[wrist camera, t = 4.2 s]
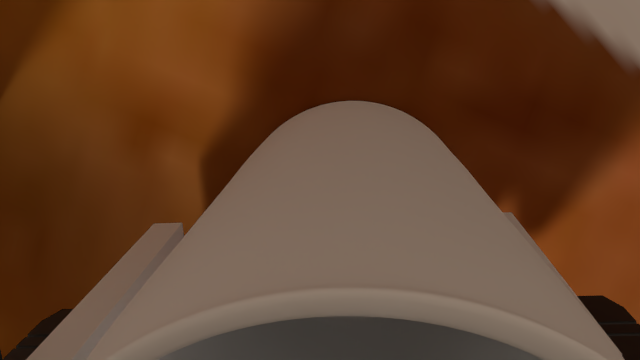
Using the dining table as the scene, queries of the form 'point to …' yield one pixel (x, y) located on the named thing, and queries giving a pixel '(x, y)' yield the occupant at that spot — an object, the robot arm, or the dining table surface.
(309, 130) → the mug
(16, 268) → the dining table surface
